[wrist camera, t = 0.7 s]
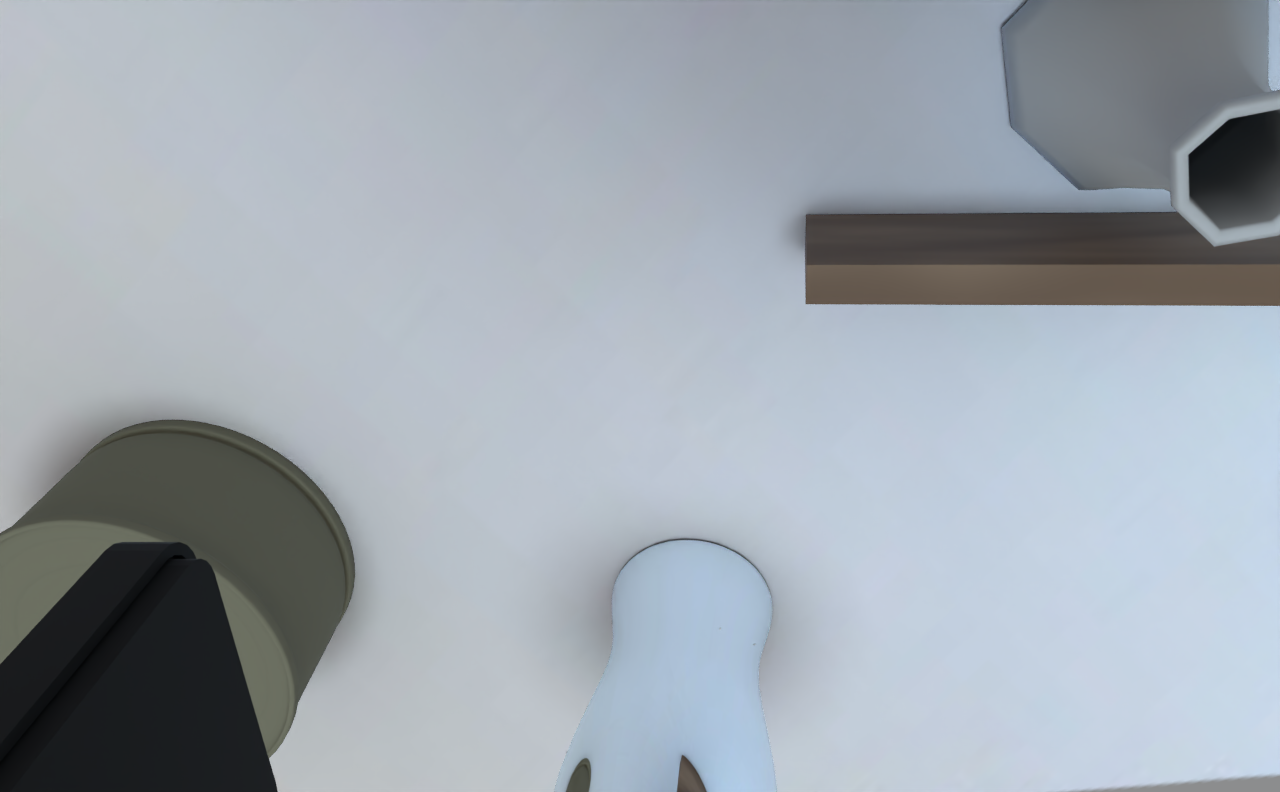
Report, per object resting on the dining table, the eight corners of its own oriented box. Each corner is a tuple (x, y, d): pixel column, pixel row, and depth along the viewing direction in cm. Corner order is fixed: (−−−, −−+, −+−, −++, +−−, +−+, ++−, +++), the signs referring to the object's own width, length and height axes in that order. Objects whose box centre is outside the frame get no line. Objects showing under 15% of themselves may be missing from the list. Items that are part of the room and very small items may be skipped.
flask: (1217, -135, 30) (1387, -88, 21) (1307, 105, 32) (1494, 234, 24) (955, 14, 32) (1012, 111, 24) (1059, 225, 35) (1144, 382, 26)
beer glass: (739, 695, 46) (715, 1071, 33) (576, 633, 45) (486, 990, 32) (815, 569, 42) (822, 934, 29) (639, 501, 42) (567, 841, 29)
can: (292, 391, 41) (207, 498, 35) (402, 645, 47) (344, 776, 41) (11, 438, 44) (-113, 545, 38) (145, 673, 49) (56, 800, 43)
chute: (813, -148, 31) (814, -136, 27) (1551, -184, 28) (1655, -175, 25) (805, 251, 36) (805, 304, 33) (1422, 249, 34) (1493, 306, 30)
